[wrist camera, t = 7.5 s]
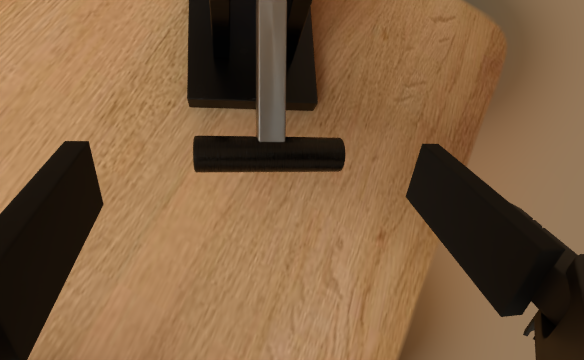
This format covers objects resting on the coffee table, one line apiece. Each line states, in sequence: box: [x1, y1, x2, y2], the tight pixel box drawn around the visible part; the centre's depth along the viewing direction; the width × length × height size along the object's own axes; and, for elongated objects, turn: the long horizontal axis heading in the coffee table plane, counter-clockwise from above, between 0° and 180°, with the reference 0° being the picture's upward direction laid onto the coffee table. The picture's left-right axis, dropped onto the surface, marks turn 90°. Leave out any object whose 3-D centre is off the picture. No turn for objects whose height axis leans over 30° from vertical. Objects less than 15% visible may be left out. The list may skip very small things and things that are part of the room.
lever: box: [193, 0, 345, 172], centre depth 13 cm, size 13×6×2 cm, turn 3°
